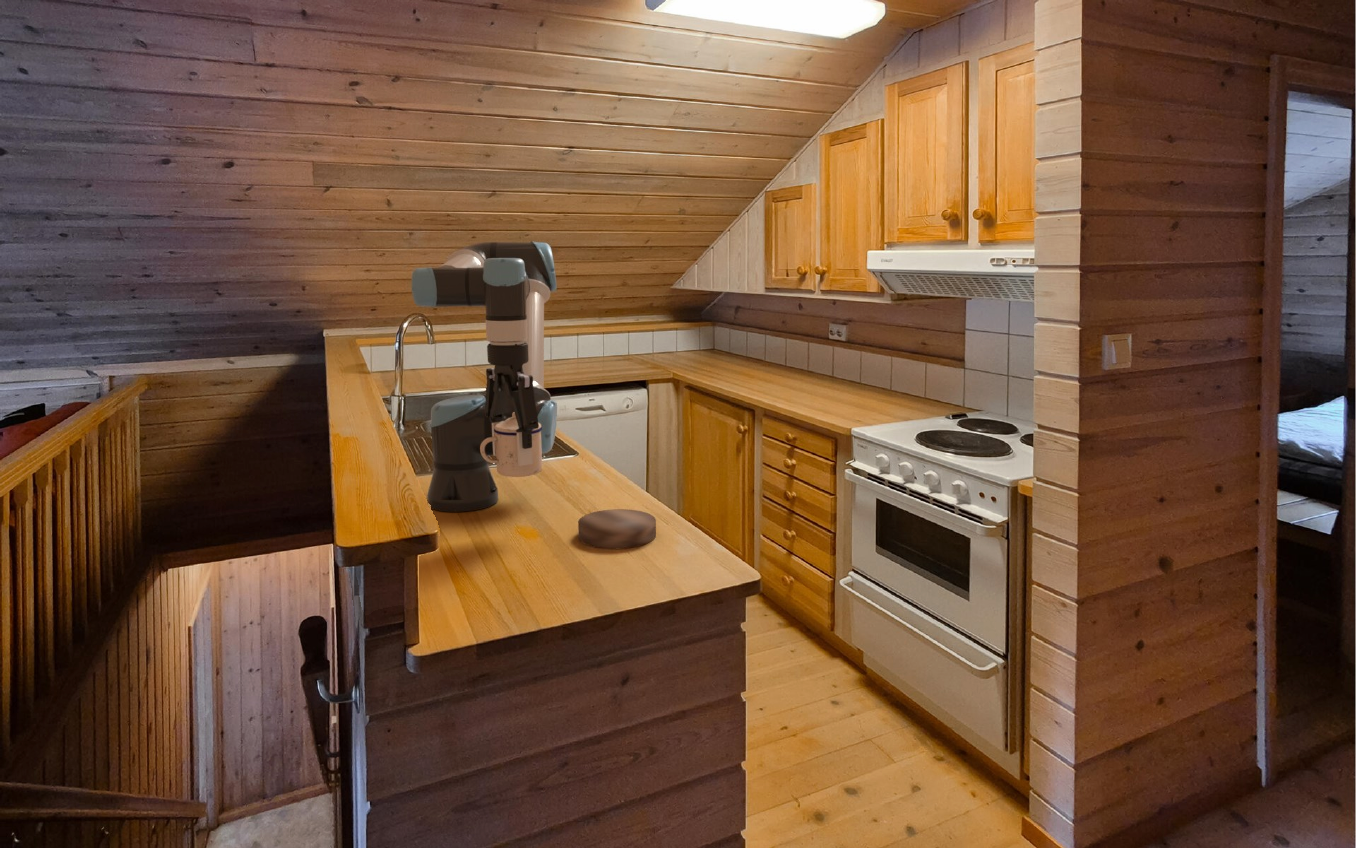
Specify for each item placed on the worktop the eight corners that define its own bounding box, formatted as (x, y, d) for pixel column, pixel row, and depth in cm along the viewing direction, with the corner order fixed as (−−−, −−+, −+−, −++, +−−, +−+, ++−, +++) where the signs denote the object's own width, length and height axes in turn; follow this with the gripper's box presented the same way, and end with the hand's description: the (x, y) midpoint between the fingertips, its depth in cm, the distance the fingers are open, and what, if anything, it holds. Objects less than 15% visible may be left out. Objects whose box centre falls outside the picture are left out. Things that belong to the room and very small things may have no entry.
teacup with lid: (534, 463, 170) (532, 406, 168) (550, 474, 163) (548, 414, 160) (475, 470, 165) (472, 411, 162) (488, 482, 157) (485, 420, 154)
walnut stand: (607, 554, 155) (607, 539, 154) (563, 534, 166) (563, 519, 165) (671, 537, 164) (671, 522, 164) (625, 518, 175) (625, 504, 175)
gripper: (555, 346, 152) (559, 467, 157) (497, 335, 168) (502, 446, 173) (518, 349, 147) (523, 474, 152) (462, 338, 164) (468, 452, 169)
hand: (512, 459), depth 163 cm, fingers closed on teacup with lid, 9 cm apart
